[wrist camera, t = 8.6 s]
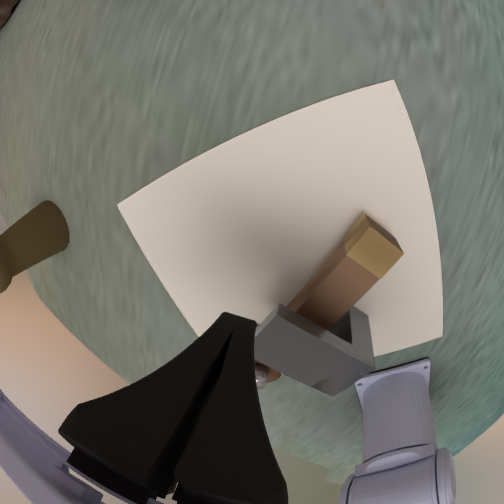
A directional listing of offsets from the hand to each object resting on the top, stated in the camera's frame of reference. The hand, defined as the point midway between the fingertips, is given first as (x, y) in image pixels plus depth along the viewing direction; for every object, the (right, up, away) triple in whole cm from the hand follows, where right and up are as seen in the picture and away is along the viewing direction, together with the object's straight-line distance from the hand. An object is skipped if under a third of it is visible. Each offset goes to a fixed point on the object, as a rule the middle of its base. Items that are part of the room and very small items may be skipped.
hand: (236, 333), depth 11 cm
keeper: (+4, -3, +10) cm, 11 cm away
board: (+4, +2, +9) cm, 10 cm away
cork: (-21, +6, +13) cm, 26 cm away
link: (+4, -1, +8) cm, 9 cm away
